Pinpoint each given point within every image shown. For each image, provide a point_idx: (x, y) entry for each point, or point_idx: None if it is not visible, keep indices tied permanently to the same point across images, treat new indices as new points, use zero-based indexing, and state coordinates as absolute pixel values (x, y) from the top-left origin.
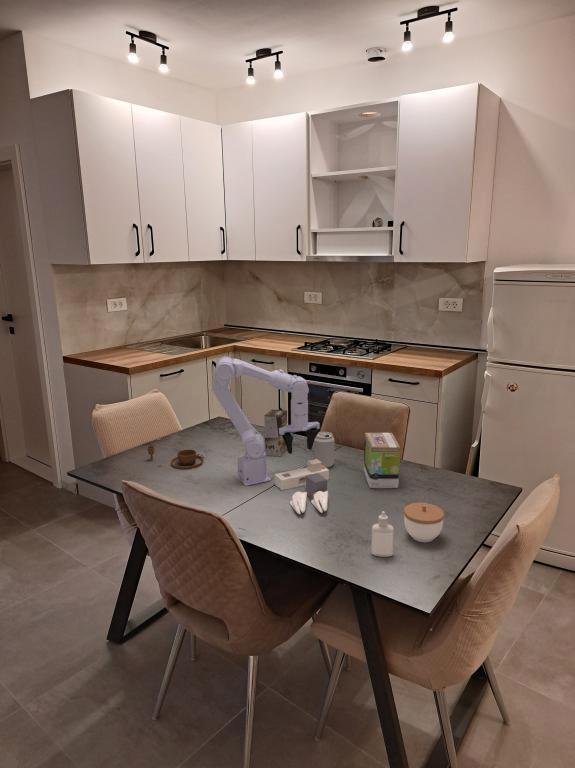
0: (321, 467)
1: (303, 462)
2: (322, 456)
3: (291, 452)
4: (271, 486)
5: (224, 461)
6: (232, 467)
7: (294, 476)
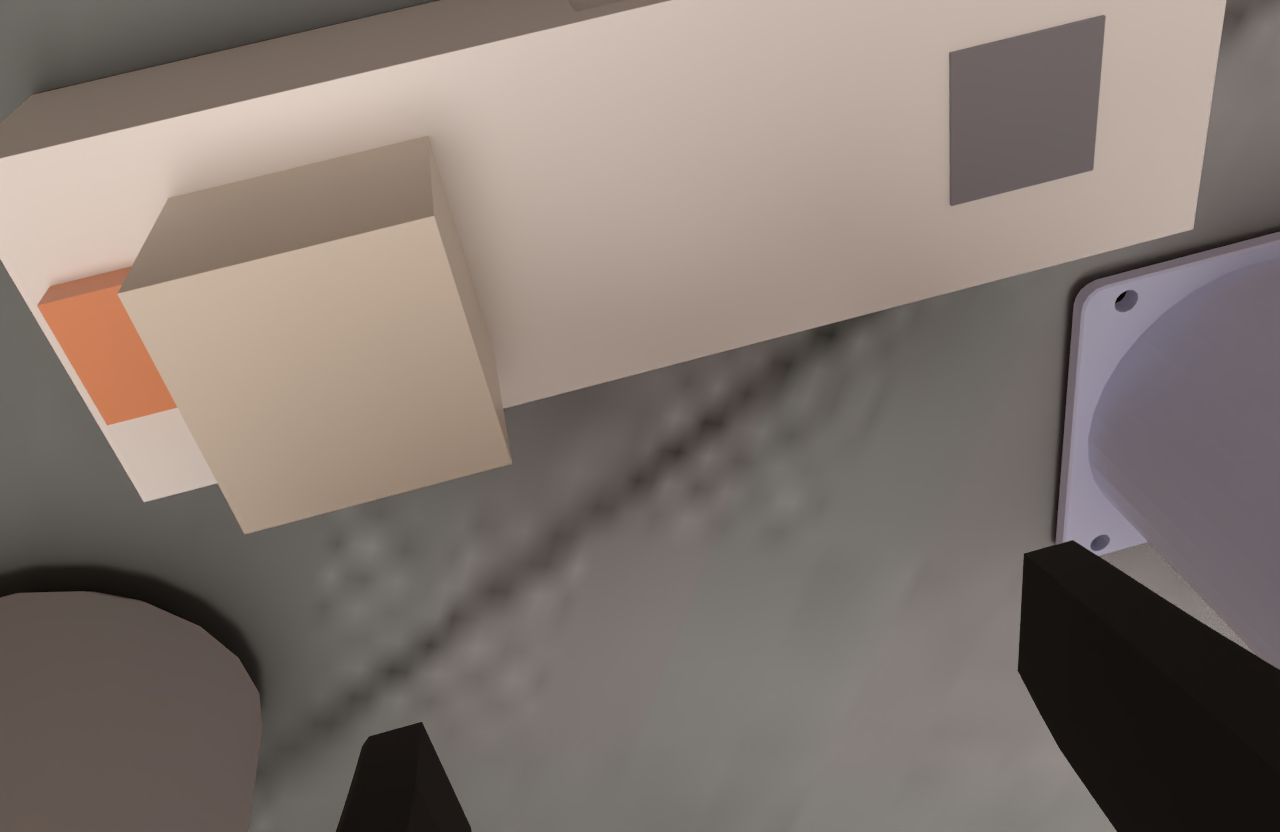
0: None
1: None
2: (69, 755)
3: (1068, 566)
4: None
5: None
6: None
7: (899, 3)
